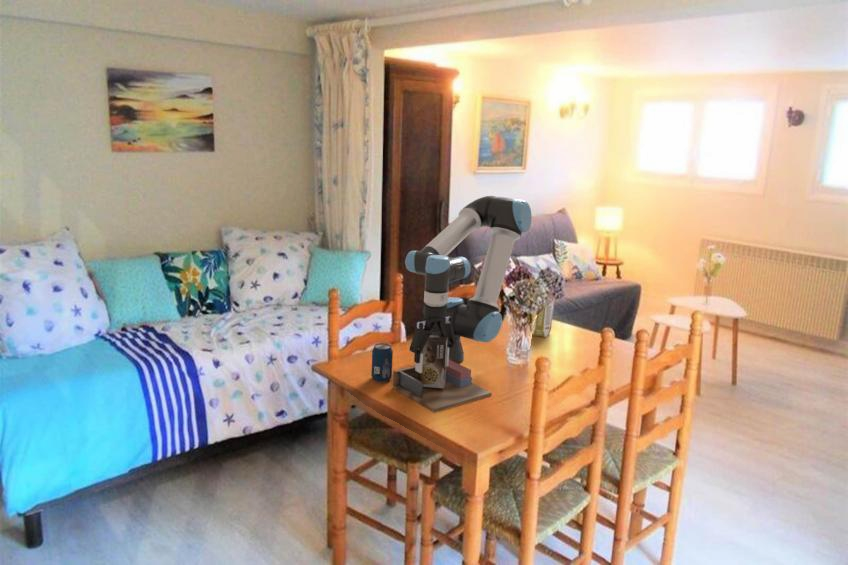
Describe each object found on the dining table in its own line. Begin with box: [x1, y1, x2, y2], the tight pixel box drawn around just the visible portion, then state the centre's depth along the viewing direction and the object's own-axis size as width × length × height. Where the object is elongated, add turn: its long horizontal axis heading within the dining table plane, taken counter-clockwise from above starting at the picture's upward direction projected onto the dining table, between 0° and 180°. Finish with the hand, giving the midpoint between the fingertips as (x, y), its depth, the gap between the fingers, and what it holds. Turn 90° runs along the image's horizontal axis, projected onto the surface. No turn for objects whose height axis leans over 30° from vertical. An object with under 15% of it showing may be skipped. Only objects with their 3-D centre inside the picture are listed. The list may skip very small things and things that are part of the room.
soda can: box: [371, 342, 394, 383], centre depth 215 cm, size 7×7×12 cm
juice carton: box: [532, 299, 555, 338], centre depth 272 cm, size 8×9×19 cm
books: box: [445, 360, 473, 387], centre depth 216 cm, size 12×5×5 cm, turn 38°
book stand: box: [392, 358, 492, 413], centre depth 208 cm, size 22×24×6 cm
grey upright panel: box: [398, 371, 423, 398], centre depth 204 cm, size 12×1×5 cm, turn 38°
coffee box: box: [417, 335, 448, 388], centre depth 208 cm, size 9×6×16 cm
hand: (431, 368), depth 208 cm, fingers closed on coffee box, 10 cm apart
